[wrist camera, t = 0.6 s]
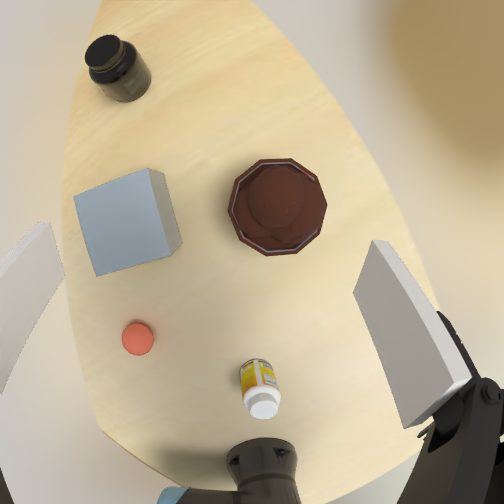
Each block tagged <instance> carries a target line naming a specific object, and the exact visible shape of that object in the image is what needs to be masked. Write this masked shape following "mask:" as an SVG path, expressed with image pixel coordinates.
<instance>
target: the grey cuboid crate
mask: <svg viewBox="0 0 504 504" xmlns="http://www.w3.org/2000/svg"><path fill="white" fill-rule="evenodd" d="M74 201H75V206H76V210H77V214H78V218H79V222H80V225H81V229H82V233H83V236H84V240H85V243H86V246H87V250H88V253H89V256H90V259H91V262H92V265H93V268H94V271H95V274H96V277H98V276H101V275H104V274H108V273H111V272H115V271H118V270H122V269H125V268H128V267H132V266H135V265H139V264H142V263H146V262H149V261H153V260H156V259H160V258H163V257H167V256H171V255H172V254H173V253H174V252H175V251H176V249H177V248H178V247H179V246H180V245H181V244H182V239H181V236H180V232H179V229H178V225H177V222H176V218H175V215H174V211H173V207H172V203H171V200H170V196H169V192H168V188H167V184H166V180H165V176H164V174H163V173H160V172H157V171H154V170H152V169H149V168H146V169H143V170H140V171H137V172H135V173H132V174H129V175H126V176H124V177H121V178H118V179H116V180H113V181H110V182H108V183H105V184H103V185H100V186H98V187H95V188H93V189H90V190H88V191H85V192H83V193H81V194H78V195H76V196H74Z"/></svg>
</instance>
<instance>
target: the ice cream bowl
mask: <svg viewBox="0 0 504 504" xmlns="http://www.w3.org/2000/svg"><path fill="white" fill-rule="evenodd" d="M326 208H327V202H326V199H325V197H324V194H323V191H322V188H321V186H320V183H319V180H318V178H317V176H316V175H315V174H313V173H312V172H310V171H309V170H308V169H306V168H305V167H303V166H302V165H300V164H299V163H297V162H296V161H294V160H293V159H291V158H289V159H261V160H259V161H258V162H256V163H255V164H254V165H253V166H251V167H250V168H249V169H248V170H246V171H245V172H244V173H243V174H242V175H240V176H239V177H238V178H237V179H235V183H234V187H233V191H232V195H231V199H230V203H229V207H228V213H229V216H230V218H231V221H232V223H233V225H234V228H235V230H236V233H237V235H238V237H239V240H240V241H242V242H243V243H245V244H247V245H248V246H250V247H252V248H253V249H255V250H257V251H258V252H260V253H262V254H263V255H265V256H277V255H288V254H297V253H298V252H299V251H300V250H302V249H303V248H304V247H305V246H306V245H307V244H309V243H310V242H311V241H312V240H313V239H315V238H316V237H317V236H318V235H319V234H320V231H321V227H322V223H323V220H324V216H325V212H326Z"/></svg>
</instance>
